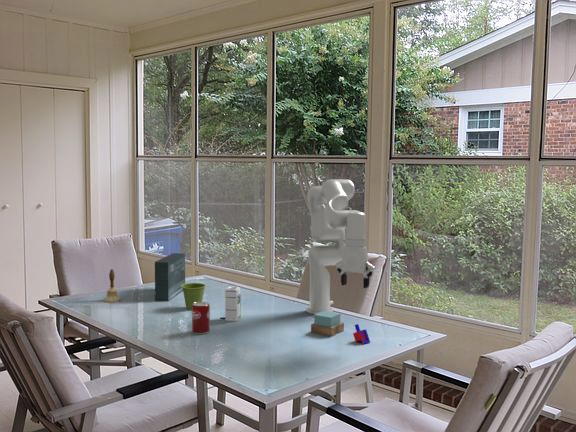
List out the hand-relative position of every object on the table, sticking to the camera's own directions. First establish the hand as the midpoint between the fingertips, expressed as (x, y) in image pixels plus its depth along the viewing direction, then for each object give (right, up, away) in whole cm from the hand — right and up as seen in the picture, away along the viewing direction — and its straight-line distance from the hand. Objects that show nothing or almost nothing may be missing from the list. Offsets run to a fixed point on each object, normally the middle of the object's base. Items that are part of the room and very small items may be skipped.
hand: (354, 286), depth 233 cm
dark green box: (-89, -14, +79) cm, 119 cm away
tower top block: (-10, -17, +13) cm, 24 cm away
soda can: (-63, -21, +11) cm, 67 cm away
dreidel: (+3, -22, 0) cm, 22 cm away
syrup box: (-51, -19, +31) cm, 63 cm away
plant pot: (-72, -17, +50) cm, 89 cm away
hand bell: (-115, -15, +65) cm, 133 cm away
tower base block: (-10, -21, +14) cm, 27 cm away
